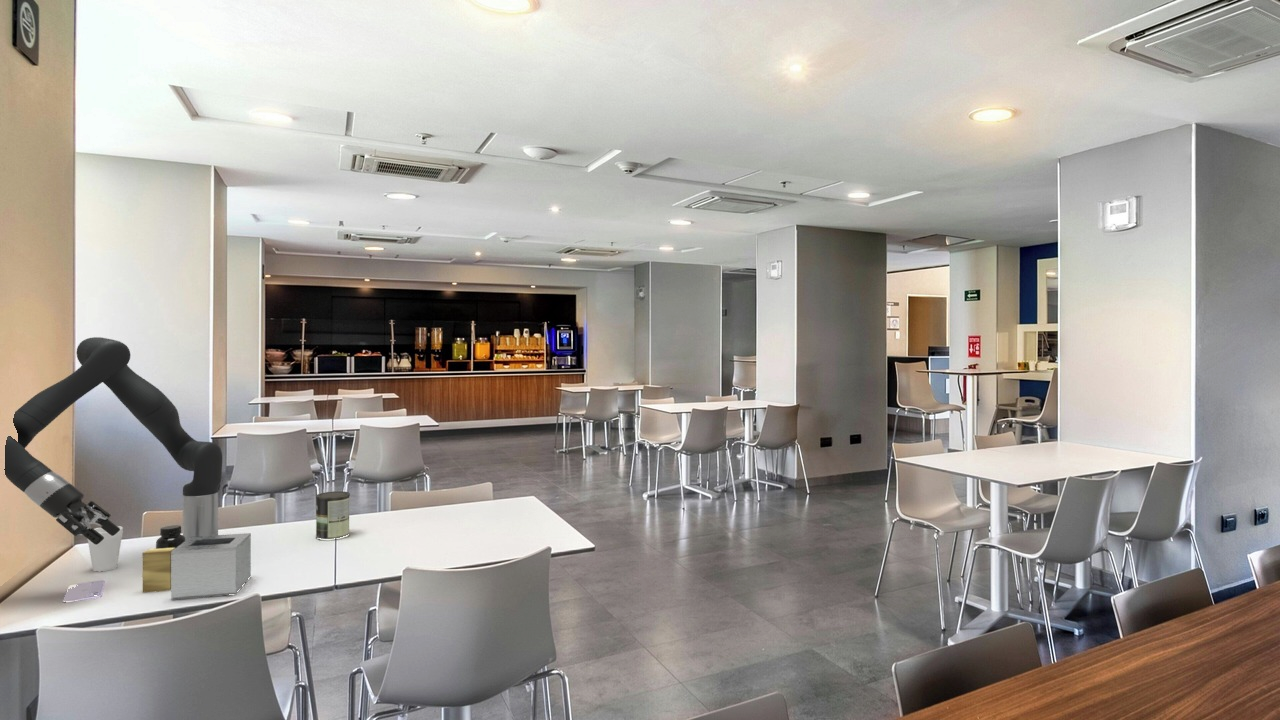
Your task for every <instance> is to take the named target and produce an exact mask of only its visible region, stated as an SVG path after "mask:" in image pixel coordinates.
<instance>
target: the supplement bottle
mask: <svg viewBox="0 0 1280 720" xmlns="http://www.w3.org/2000/svg"><path fill="white" fill-rule="evenodd" d="M159 532H160V533H159V536H160V537H159V538H157V539H156V542H155V549H161V548H177V547H178V546H179V545H181V544H182V543H184V542H185V541H186V540H185V537H184V536H183V534H182V525H167V526H163V527H160V530H159Z"/></svg>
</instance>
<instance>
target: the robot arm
mask: <svg viewBox="0 0 1280 720" xmlns="http://www.w3.org/2000/svg"><path fill="white" fill-rule="evenodd" d="M130 350H131V349H130V348H129V347H128V346H127V344H125V343H124V342H122V341H119V340H115V339H112V338H107V337H101V336H100V337H99V336H98V337H97V336H96V337H95V336H94V337H88V338H85V339H84V340H82V341H81V342H80V343H79V344H78V345H77V348H76V358H77V360H78V362H79V364H80V365H81V366H80V367H79V368H78V369H76V370H75V371H73V373H71V374H70V375H68V376H66V377H65V378H63V379H61V380H60V381H58V382H56V383H54V384H52V385H50V386H48V387H46V388H44V390H42V391H40V392H37V393H36V395H33V397H31V398H30V399H29V400H27V401H26V402H25V403H24V404H22V406H20V408H18V409H17V410H15V411H14V412H15V414H14V418H13V423H14V426H15V428H16V430H17V433H18V442H17V441H16V440H15V439H13V438H12V437H11V436H8V437H7V440H6V445H5V469H4V470H5V475H6V476H5V475H4V476H5V477H6V478H7V480H9V482H10V483H12V484H13V485H14V486H15V487H16V488H18V489H19V490H20V491H22V493H24V494H25V495H26V496H27V498H29V499H30V500H31V501H32V502H33V503H35V504H36V505H37V506H38V507H40V508H41V509H42V510H44V511H45V512H46V513H48V514H49V515H50V516H51V517H53V518H55V520H56V522H57V523H59V524H60V525H61V526H62V527H63V528H64V529H66V530H67V531H68V532H69V533H70V534H72V535H73V536H75V537H76V536H84V537H85V538H86V540H87V539H89V540H90V541H91V542H93V543H94V544H96V545H97V544H99V543H100V542H101V541H102V540H103V539H104V537H103V536H102V535H101V534H99V533H98V532H97V531H96V530H94V529H95V528H93V527H92V526H91V525H95V526H99V527H100V528H102V529H104V530H105V531H106V532H107V533H109V534H110V535H111V536H114V535H115V534H116V533H118V532H119V531H120V528H118V527H117V526H118V525H116V524H114V522H112V521H111V520H110V517H111V514H110V513H109V512H108V511H106V509H103V508H102V507H101V506H99V504H97V503H96V502H95V501H93V500H90V501H89V502H87V504H86V503H85V502H83V501H82V500H83V499H84V497H85V495H84V493H83V492H81V491H80V490H79V489H78V488H77V487H75V486H74V485H73V484H72V483H70V482H69V481H68V480H67V479H65V477H63V476H61V475H59V474H58V473H56V472H54V470H52V469H51V468H50V467H48V466H47V465H46V464H44V463H43V462H42V461H40V460H39V459H37V458H36V457H34V456H33V455H32V454H31V453H30V452H29V451H28V450H27V449H26V448H27V447H28V445H29V444H30V443H31V442H32V441H33V440H34V438H35V437H36V436H37V435H38V434H39V433H40V432H41V431H43V430H45V428H46V427H48V426H49V425H50V424H51V423H52V422H54V420H55V419H56V418H58V417H59V416H60V415H61V414H63V412H64V411H66V410H67V409H68V408H69V407H71V405H73V404H74V403H76V402H77V401H78V400H79V399H81V398H82V397H84V396H85V395H86V394H88V393H89V392H90V391H92V390H93V389H95V388H97V387H98V386H99V385H100V384H102V383H103V384H104V385H105V386H106V387H107V388H108V389H109V390H110V391H111V392H112V393H113V394H114V396H115V397H116V398H117V399H118V400H119V401H120V402H121V404H123V405H124V406H125V408H126V409H127V410H128V411H129V412H130V413H131V414H132V415H133V416H134V417H135V418H136V420H138V421H139V423H141V425H142V426H144V427H145V428H146V430H148V431H149V432H150V433H151V434H152V435H153V437H154V438H156V439H157V440H158V441H159V442H160V443H161V445H163V447H164V448H165V449H166V451H167V452H168V454H169V455H170V456H171V458H172V459H173V460H174V461H175V462H176V464H177V465H178V467H180V468H182V469H183V470H185V471H189V472H193V476H192V480H191V481H190V482H189V483H186V484H185V485H184V486H183V487H182V535H183V536H184V537H185V540H188V539H189V538H190V537H195V536H211V535H219V486H220V484H221V482H222V473H223V452H222V449H221V447H220V445H219V444H217V443H216V442H212V441H198V440H196V439H194V438H193V437H192V436H191V435H190V434H189V433H188V432H187V431H185V429H184V428H183V427H182V425H181V421H180V420H181V419H180V416H179V415H180V414H179V411H178V409H177V407H176V406H175V405H174V403H173V402H172V401H171V400H170V399H169V398H168V396H166V394H164V392H162V391H161V390H160V389H159V388H157V387H156V386H155V385H153V384H152V383H151V382H149V381H147V380H146V379H145V378H143V377H142V376H141V375H139V374H137V373H136V372H135V371H134V370H133V369H132V368H130V366H129V365H128V364H129V363H130V360H131V351H130Z"/></svg>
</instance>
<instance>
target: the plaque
mask: <svg viewBox="0 0 1280 720" xmlns="http://www.w3.org/2000/svg"><path fill="white" fill-rule="evenodd" d="M174 549H175V548H161V549H156V548H149V549H147V550H145V551H144V552H142V593H152V592H153V593H154V592H155V591H156V592H166V591H167V590H168V591H171V551H172V550H174ZM168 591H167V592H168ZM156 592H155V593H156Z"/></svg>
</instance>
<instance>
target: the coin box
mask: <svg viewBox="0 0 1280 720" xmlns="http://www.w3.org/2000/svg"><path fill="white" fill-rule="evenodd" d="M251 535H252V533H251V532H247V533H245V532H244V533H230V534H228V533H227V534H218V535H211V536H195V537H190V538H189V539H188V540H186V541H185V542H184V543H182V544H181V545H179V546H178V547H177V548H175V549H174V550H172V551H171V590H170V593H171V594H170V598H171V599H170V601H177V600H178V601H180V600H190V598H192V599H201V598H203V597H204V598H211V597H210V596H216V597H222V596H221V595H228V596H230V595H229V594H236V593H237V591H238V590H239V589H240V588H241V587H242V585H243V584H244V583H245V582H246V581H247V580H248V578H249V577H250V576H251V577H252V575H251V571H252V569H251V568H252V565H251V564H252V559H251V558H252V556H251V555H252V553H251V552H252V550H251V549H252V545H251V544H252V538H251V537H252V536H251ZM248 581H249V580H248ZM248 581H247V582H248ZM247 582H246V583H247ZM246 583H245V584H246ZM242 588H243V587H242ZM242 588H241V589H242ZM241 589H240V590H241ZM240 590H239V591H240ZM237 594H238V593H237ZM237 594H236V595H237ZM204 598H203V599H204Z"/></svg>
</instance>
